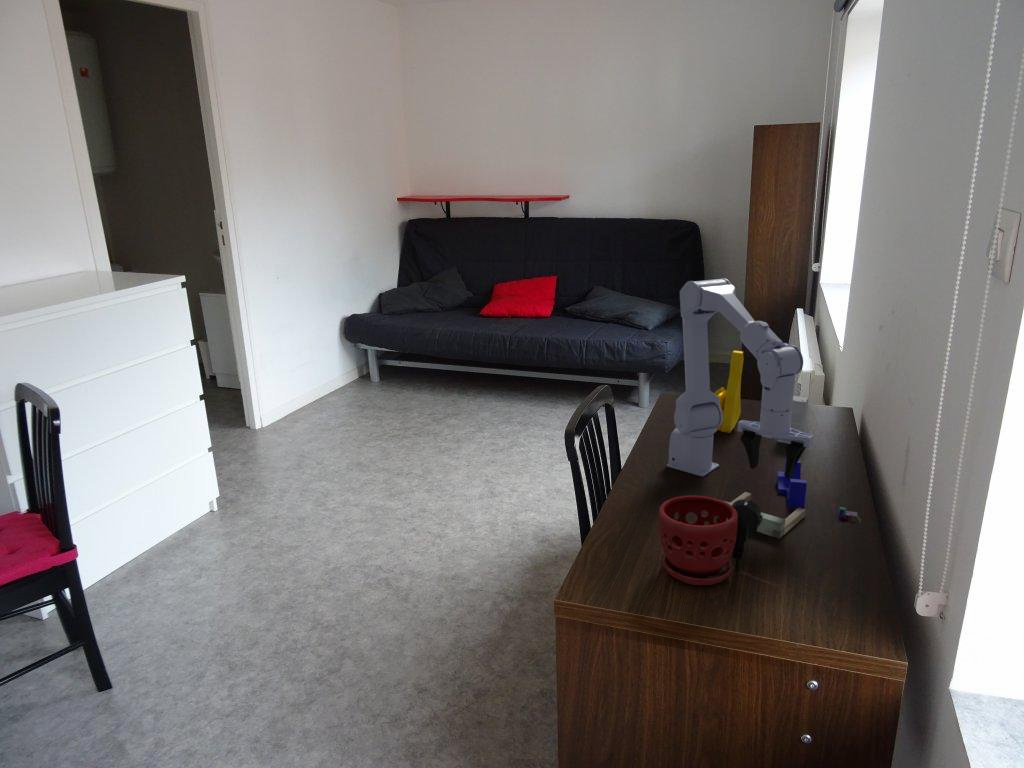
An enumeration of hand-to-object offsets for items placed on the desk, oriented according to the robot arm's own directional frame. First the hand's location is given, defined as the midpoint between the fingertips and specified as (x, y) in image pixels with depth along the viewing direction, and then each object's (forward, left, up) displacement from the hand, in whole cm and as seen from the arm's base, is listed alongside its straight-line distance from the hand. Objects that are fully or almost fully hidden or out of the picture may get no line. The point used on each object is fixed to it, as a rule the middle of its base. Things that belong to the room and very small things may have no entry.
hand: (771, 471), depth 144 cm
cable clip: (0, +10, -9) cm, 14 cm away
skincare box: (-12, +40, -9) cm, 43 cm away
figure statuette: (-29, +38, -9) cm, 48 cm away
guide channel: (0, -3, -9) cm, 9 cm away
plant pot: (0, -29, -9) cm, 31 cm away
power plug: (+5, -22, -9) cm, 24 cm away
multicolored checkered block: (+13, +8, -10) cm, 18 cm away
